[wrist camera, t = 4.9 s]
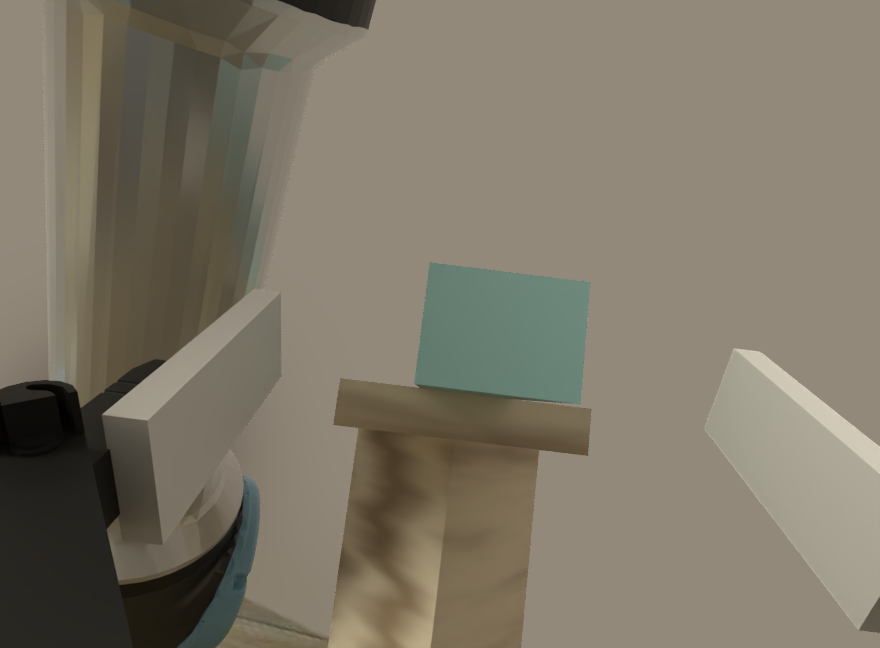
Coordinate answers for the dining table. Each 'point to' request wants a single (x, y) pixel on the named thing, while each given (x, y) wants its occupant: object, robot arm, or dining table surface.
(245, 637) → the dining table surface
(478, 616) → the stand
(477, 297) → the bar
